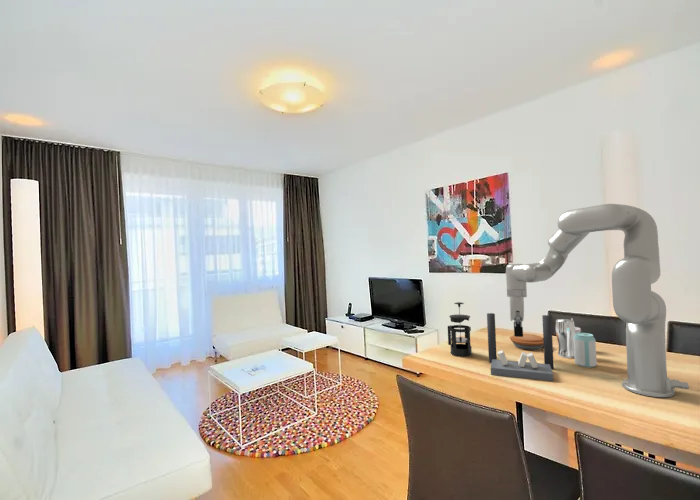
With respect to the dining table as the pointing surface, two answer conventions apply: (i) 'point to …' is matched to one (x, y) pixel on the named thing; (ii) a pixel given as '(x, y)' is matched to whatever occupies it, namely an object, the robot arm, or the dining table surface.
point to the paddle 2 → (532, 360)
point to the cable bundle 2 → (548, 340)
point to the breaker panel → (522, 370)
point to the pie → (528, 342)
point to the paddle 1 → (502, 357)
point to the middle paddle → (522, 359)
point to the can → (585, 350)
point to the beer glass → (565, 337)
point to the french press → (460, 349)
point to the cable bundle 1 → (491, 336)
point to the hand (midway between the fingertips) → (518, 333)
